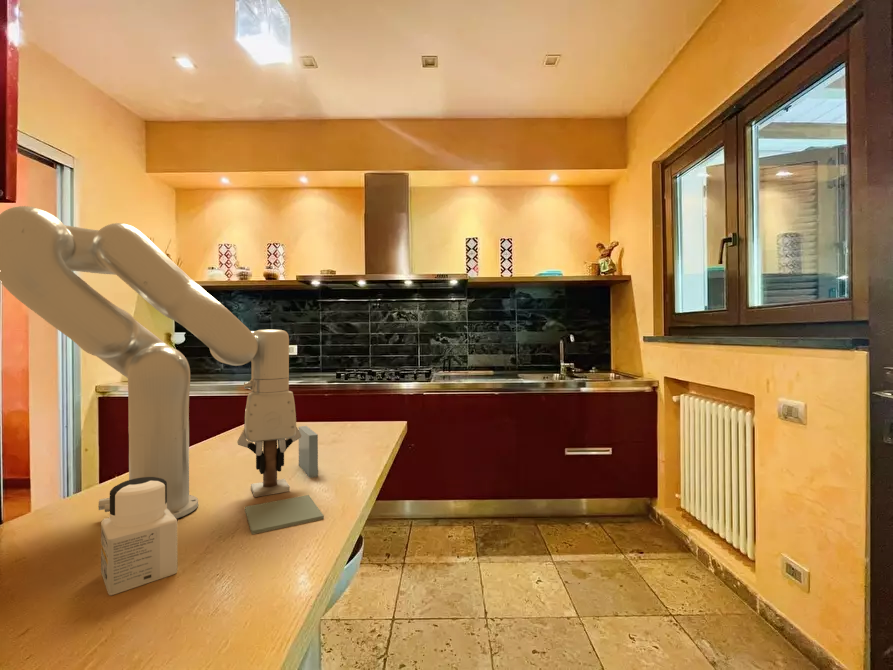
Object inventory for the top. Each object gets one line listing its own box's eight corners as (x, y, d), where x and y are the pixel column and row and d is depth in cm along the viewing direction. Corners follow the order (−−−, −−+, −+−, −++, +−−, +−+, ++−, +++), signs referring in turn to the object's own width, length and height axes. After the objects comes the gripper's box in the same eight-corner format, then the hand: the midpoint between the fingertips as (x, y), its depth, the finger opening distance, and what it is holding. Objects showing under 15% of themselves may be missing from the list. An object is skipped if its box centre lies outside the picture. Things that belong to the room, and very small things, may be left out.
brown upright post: (254, 497, 89) (254, 439, 89) (250, 488, 94) (251, 433, 94) (289, 491, 92) (289, 435, 93) (284, 483, 98) (284, 430, 98)
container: (100, 574, 60) (100, 481, 60) (165, 554, 66) (164, 469, 66) (108, 597, 55) (108, 495, 55) (178, 573, 60) (177, 481, 60)
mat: (251, 534, 72) (251, 530, 72) (244, 509, 83) (244, 506, 83) (323, 518, 78) (323, 515, 78) (308, 497, 89) (308, 494, 89)
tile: (309, 478, 101) (309, 435, 101) (298, 465, 112) (298, 426, 112) (318, 476, 103) (318, 434, 103) (307, 463, 113) (307, 425, 113)
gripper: (229, 390, 86) (229, 482, 86) (312, 385, 94) (312, 469, 94) (227, 386, 93) (227, 472, 92) (305, 382, 101) (304, 461, 101)
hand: (270, 470), depth 93 cm, fingers closed on brown upright post, 2 cm apart
